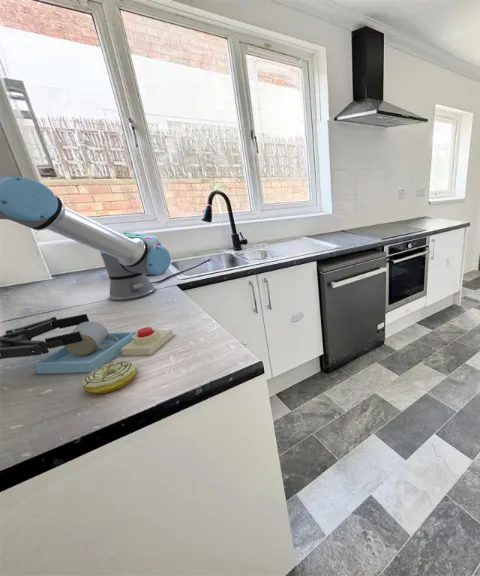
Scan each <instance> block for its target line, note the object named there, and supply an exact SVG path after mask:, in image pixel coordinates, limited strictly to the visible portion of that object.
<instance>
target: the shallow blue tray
mask: <svg viewBox="0 0 480 576" xmlns="http://www.w3.org/2000/svg"><path fill="white" fill-rule="evenodd" d="M136 333H137V332H136V331H120V332H119V331H118V332H115V331H114V332H108V334H109V335H113V336H115V337H117V338H118V339H119V342H117V343H116V342H115V341H113V340H110V339H106V340H105V341H104V342H103V343H102V345H110V344H114V343H116V344H114V345H113V346H111V347H110V348H108V349H96V350H95V351H94V352H92V353H91V354H89V355H85V356H77V355H73V354H71V353H69V352H68V351H67V350H66V349H65V346H62V347H60V348H59V349H58V350H55V351H54V352H52V353H50V354H49V355H47V356H46V357H44V358H42V359H40V360H38V361H36V362H35V363H33V367H34V368H35V371H36V373H37V374H39V375H41V374H76V373H90V372H92V371H94V370H96V369H97V368H99V367H101V366H103V365H105V364H108V363H110V362H111V360H113V359H114V358H116V357H117V356H118V355H120V354H122V352H121V348H123V347H124V346H126V345H127V344H128V343H130V342H131V341H133V339H132V337H133V335H134V334H136Z"/></svg>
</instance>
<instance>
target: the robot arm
mask: <svg viewBox="0 0 480 576" xmlns="http://www.w3.org/2000/svg"><path fill="white" fill-rule="evenodd" d="M0 220H8V221H12V222H14V223H17V224H19V225H22V226H24V227H27V228H30V229H32V230H34V231H43V230H48V231H51V232H53V233H55V234H57V235H60V236H63V237H65V238H67V239H70V240H72V241H75V242H77V243H80V244H82V245H85V246H86V247H89V248H92V249H94V250H96V251H99V252H100V256H101V258H102V261H103V264H104V266H105V269H106V272H107V275H108V278H109V281H110V283H109V298H110V300H112V301H116V302H117V301H118V302H119V301H131V300H135V299H139V298H143V297H146V296H148V295H151V294H153V293H154V292H155V288H154V285H153V284H159V283H161V282H164V281H166V280H167V279H170V278H172V277H174V276H178V275H180V274H183V273H185V272H188V271H190V270H193V269H195V268H198V267H199V266H202V265H204V264H206V263H207V262H209V261H211V260H212V258H208V259H207V260H204V261H203V262H201V263H199V264H196V265H195V266H192V267H189V268H187V269H184V270H182V271H179V272H176V273H173V274H170V275H168V276H167V277H165V278H162V279H160V280H155V281H152V282H151V281H150V280H149V279H148V277H147V275H145V274H150V275H153V276H154V275H161V274H164V273H165V272H167V271H168V269H169V268H170V265H171V263H172V257H171V253H170V252H169V250H168V249H167V248H166V247H165V246H162V245H161V246H159V245H155V246H154V245H151V244H149V243H147V242H145V241H143V240H141V239H138V238H133V239H130V238H128V237H126V236H124V235H122V233H120V232H118V231H116V230H114V229H112V228H109V227H107V226H106V225H104V224H102V223H100V222H98V221H95V220H93V219H92V218H89V217H87V216H86V215H84V214H81V213H80V212H77V211H75V210H73V209H72V208H69V207H67V206H65V204H64V202H63V199H61V198H60V197H59V196H56V195H54V192H53V190H52V189H51V188H50V187H48V186H47V185H45V184H44V183H42V182H41V181H39V180H36V179H32V178H29V177H24V176H18V175H4V176H0ZM144 273H145V274H144ZM83 322H90V319H89V316H88V314H87V313H83V314H79V315H73V316H69V317H68V316H67V317H64V318H57V317H56V316H51V318H47V319H43V320H40V321H37V322H34V323H31V324H27V325H24V326H19V327H17V328H13V329H8V330H5V331H4V332H5V334H3V335H1V336H0V360H3V359H12V358H24V357H36V356H41V355H45V354H48V353H49V352H50V351H49V350H51V349H56V348H59V347H64V345H68V344H72V343H77V342H81V341H83V339H82V336H81V334H80V332H79V331H78V332H74V333H71V332H70V333H65V334H61V335H56V336H55V335H54V336H51V337H46V338H44V340H32V339H34V338H36V337H39V336H41V335H44V334H46V333H48V332H52V331H54V330H56V329H59V330H61V329H67V328H70V327H74V326H75V327H77V326H78V325H79V324H81V323H83Z"/></svg>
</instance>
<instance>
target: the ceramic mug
mask: <svg viewBox="0 0 480 576" xmlns="http://www.w3.org/2000/svg"><path fill="white" fill-rule="evenodd" d="M78 331H79V332H80V334H81V336H82V339H83V341H81V342H77V343H72V344H68V345H64V346H65V349H66V350H67V351H68V352H69V353H71V354H73V355H77V356H85V355H89V354H91V353H92V352H94V351H95V350H96V349H108V348H110V347H111V346H113V345H114V344H116V343H117V342H119V339H118V338H117V337H115V336H113V335H109V334H108V333H109V331H108V329H107V327H106V326H105V325H103V324H102V323H99V322H96V321H90V320H89V322H83V323H81V324H79V325H76V326H75V328H74V329H73V330H72V331H71V332H70V333H74V332H78ZM106 339H110V340H113V341H115V342H116V343H114V344H110V345H102V343H103V342H104V341H105V340H106ZM64 346H63V347H64Z"/></svg>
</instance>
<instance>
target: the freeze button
mask: <svg viewBox="0 0 480 576" xmlns="http://www.w3.org/2000/svg"><path fill="white" fill-rule="evenodd" d="M152 329H153V327H151V326H146V327H142V328H139V329H137V330H136V331H137V332H136V333H138V336H139V337H146V336H149V335H152V334H153V330H152Z"/></svg>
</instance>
